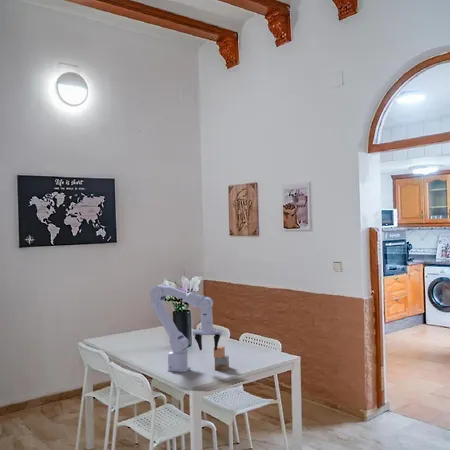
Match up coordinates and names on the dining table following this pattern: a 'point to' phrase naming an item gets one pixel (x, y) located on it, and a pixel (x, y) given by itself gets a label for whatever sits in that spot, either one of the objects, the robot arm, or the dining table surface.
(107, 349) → the dining table surface
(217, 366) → the walnut slab
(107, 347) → the dining table surface
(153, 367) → the dining table surface
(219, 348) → the tan clay cube
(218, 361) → the slate slab
